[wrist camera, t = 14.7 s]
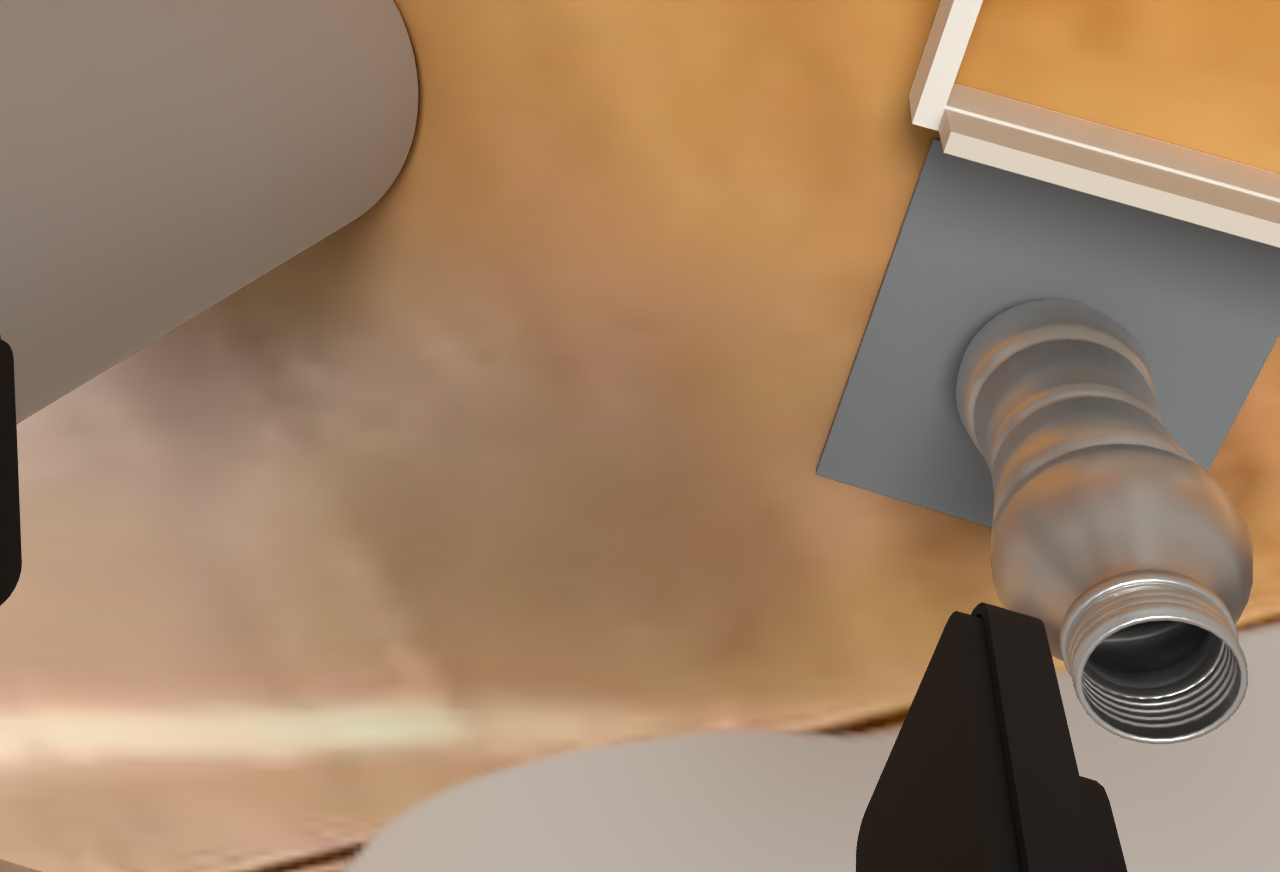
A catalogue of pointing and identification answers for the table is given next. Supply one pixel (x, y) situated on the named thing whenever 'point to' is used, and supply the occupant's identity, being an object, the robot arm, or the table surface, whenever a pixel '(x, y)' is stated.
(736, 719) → the table surface
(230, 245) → the cylinder vase
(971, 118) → the white rectangular open frame
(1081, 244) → the mat
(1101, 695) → the plastic bottle
